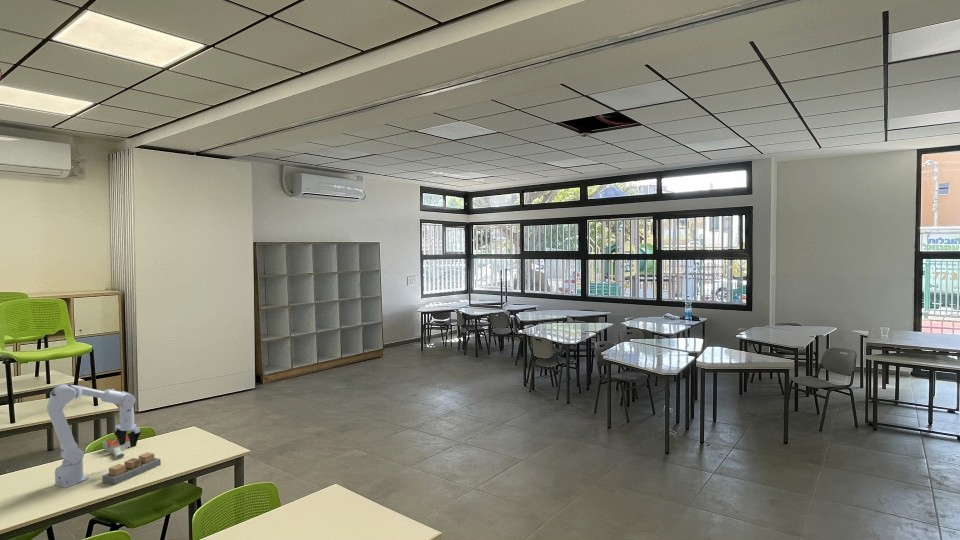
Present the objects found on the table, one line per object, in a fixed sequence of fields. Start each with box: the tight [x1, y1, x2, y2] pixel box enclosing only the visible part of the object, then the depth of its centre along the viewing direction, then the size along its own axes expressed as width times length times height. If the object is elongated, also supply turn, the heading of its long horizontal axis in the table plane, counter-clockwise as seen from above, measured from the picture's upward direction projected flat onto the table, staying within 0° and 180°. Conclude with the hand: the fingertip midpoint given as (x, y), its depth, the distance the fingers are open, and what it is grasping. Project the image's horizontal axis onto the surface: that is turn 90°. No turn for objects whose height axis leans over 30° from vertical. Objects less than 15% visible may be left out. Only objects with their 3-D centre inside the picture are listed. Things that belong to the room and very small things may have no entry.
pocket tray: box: [102, 452, 162, 486], centre depth 240 cm, size 22×8×6 cm, turn 160°
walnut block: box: [123, 457, 141, 470], centre depth 240 cm, size 4×4×5 cm
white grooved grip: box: [102, 435, 131, 461], centre depth 264 cm, size 18×5×20 cm
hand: (128, 445), depth 248 cm, fingers open, 7 cm apart
